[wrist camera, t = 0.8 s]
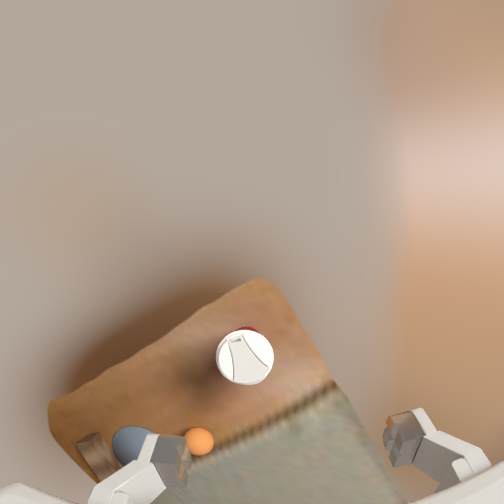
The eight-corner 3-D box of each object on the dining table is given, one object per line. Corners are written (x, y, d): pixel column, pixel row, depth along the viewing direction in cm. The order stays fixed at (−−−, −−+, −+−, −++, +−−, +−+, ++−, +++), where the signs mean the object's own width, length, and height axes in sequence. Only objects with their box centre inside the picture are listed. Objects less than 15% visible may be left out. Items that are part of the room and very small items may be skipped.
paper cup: (217, 330, 52) (205, 343, 38) (258, 313, 53) (260, 322, 39) (234, 370, 51) (229, 396, 37) (275, 354, 52) (283, 375, 38)
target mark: (184, 470, 49) (184, 470, 48) (134, 481, 48) (133, 482, 48) (150, 419, 50) (150, 419, 50) (101, 433, 49) (101, 434, 49)
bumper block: (133, 483, 48) (126, 495, 43) (120, 485, 48) (112, 496, 43) (99, 432, 49) (88, 441, 44) (86, 435, 49) (75, 444, 44)
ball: (220, 441, 50) (217, 455, 44) (195, 450, 49) (190, 463, 44) (206, 419, 50) (202, 431, 45) (181, 428, 50) (174, 440, 44)
